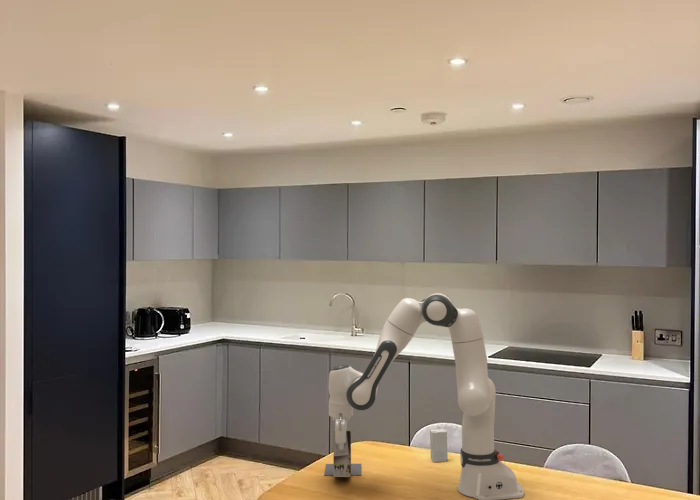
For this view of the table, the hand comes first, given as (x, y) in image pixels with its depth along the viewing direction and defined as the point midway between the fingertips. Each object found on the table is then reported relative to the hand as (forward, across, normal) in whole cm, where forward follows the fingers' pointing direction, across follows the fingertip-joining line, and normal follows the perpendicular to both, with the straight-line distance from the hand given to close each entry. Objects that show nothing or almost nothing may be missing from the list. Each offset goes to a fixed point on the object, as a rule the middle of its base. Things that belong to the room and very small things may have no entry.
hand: (341, 448), depth 229 cm
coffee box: (+12, +2, 0) cm, 12 cm away
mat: (+13, +13, 0) cm, 18 cm away
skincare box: (+13, +23, -38) cm, 46 cm away
